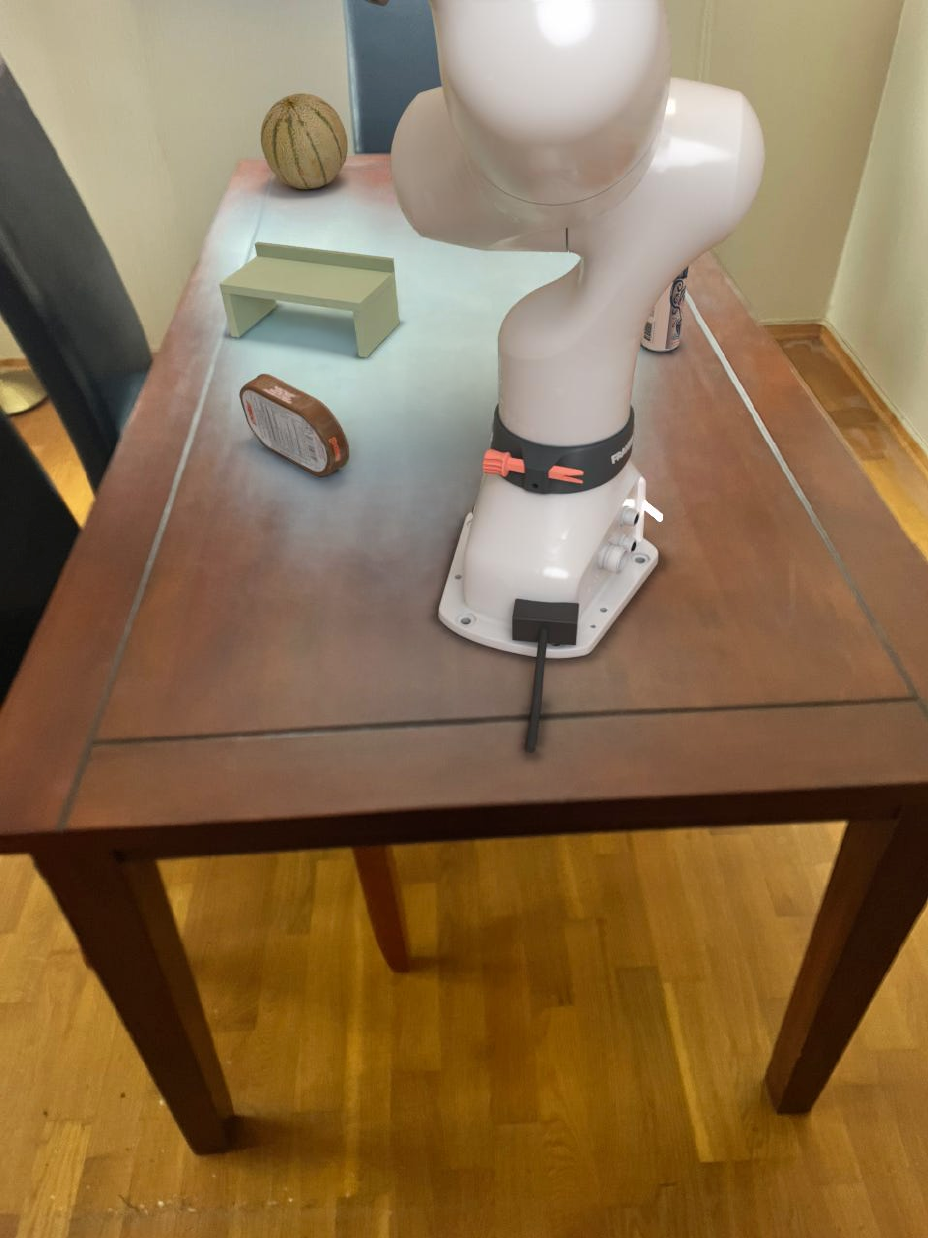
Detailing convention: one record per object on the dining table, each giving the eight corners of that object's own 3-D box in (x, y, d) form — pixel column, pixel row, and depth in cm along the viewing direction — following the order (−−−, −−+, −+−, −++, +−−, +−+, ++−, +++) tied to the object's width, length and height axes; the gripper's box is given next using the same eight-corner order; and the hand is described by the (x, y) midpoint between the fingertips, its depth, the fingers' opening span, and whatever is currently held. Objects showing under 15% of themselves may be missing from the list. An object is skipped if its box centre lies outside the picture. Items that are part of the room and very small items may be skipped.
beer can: (678, 355, 114) (690, 258, 106) (639, 353, 115) (648, 256, 106) (679, 337, 117) (691, 241, 109) (641, 335, 118) (650, 240, 110)
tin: (355, 477, 97) (345, 406, 91) (333, 491, 96) (321, 419, 90) (266, 429, 105) (252, 361, 99) (244, 441, 103) (228, 372, 98)
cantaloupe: (353, 170, 170) (343, 78, 160) (350, 198, 159) (339, 101, 149) (273, 175, 170) (257, 83, 160) (264, 203, 159) (247, 106, 149)
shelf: (366, 357, 117) (358, 289, 111) (231, 336, 122) (216, 270, 116) (399, 323, 123) (393, 257, 117) (269, 304, 129) (257, 241, 123)
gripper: (386, -167, 69) (402, 47, 78) (663, -181, 68) (646, 38, 77) (394, -171, 74) (408, 31, 83) (653, -184, 73) (638, 23, 82)
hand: (524, 34), depth 80 cm, fingers open, 8 cm apart
